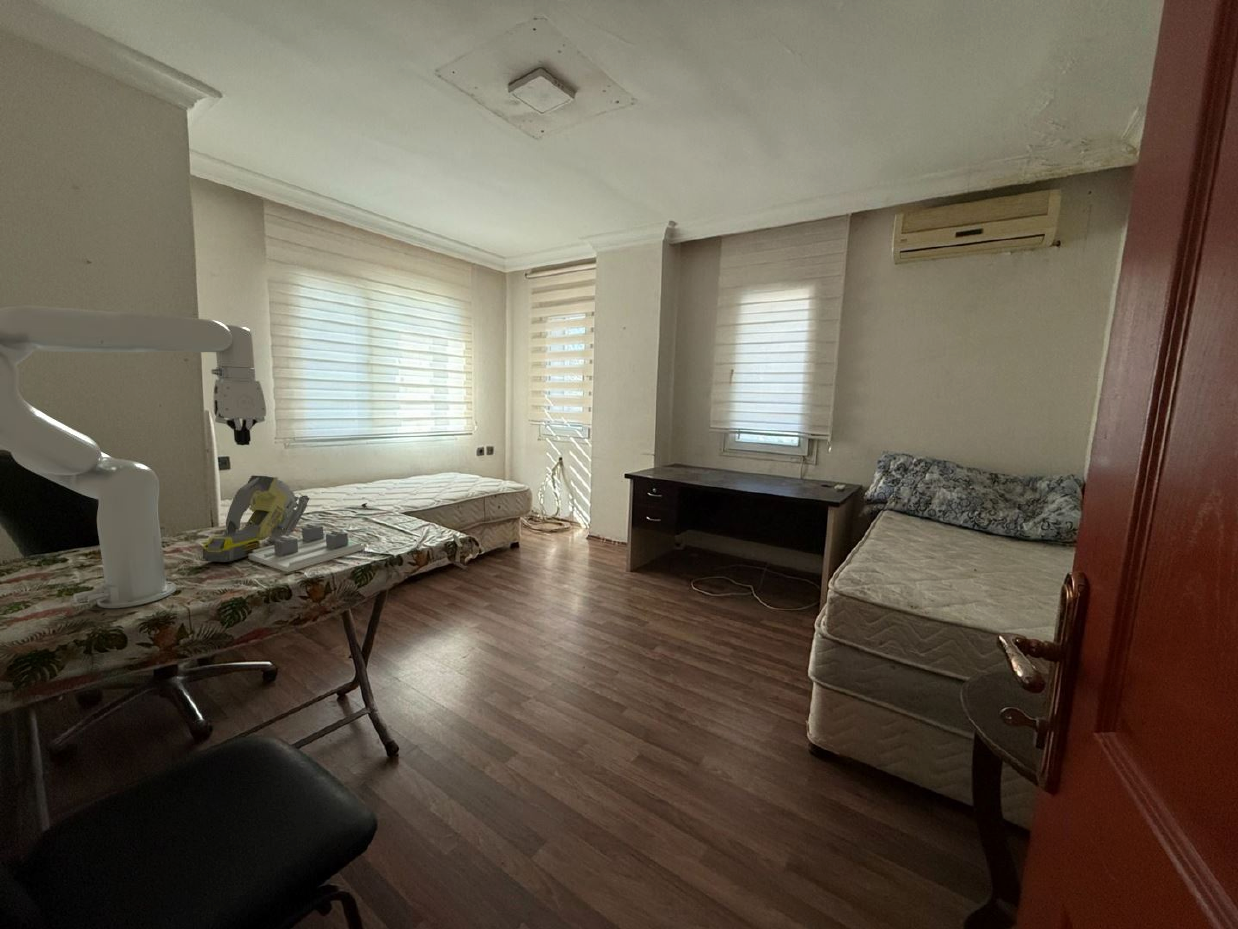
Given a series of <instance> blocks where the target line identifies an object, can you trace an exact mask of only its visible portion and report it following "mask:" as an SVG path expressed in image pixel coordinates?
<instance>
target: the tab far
mask: <svg viewBox="0 0 1238 929" xmlns="http://www.w3.org/2000/svg"><path fill="white" fill-rule="evenodd" d="M323 533H324V526H323V525H319V524H315V523H307V526H302V527H301V535H302V537H301V538H303V542H306V543H309V542H313V541H317V540H321V539H324V536H323Z"/></svg>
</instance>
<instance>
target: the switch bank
mask: <svg viewBox="0 0 1238 929" xmlns="http://www.w3.org/2000/svg"><path fill="white" fill-rule="evenodd" d="M323 536H324V539H321V540H317V541H313V542H309V543H306V542H303V538H302V537H301V538H296V539H297V542H298V552H297V553H293V554H290V555H286V556H282V557H278V556H275V550H274V544H273V545H267V546H263V547H260V548H259V549H255V550H252V552H253V553H250V554H248V556H247V557H248V560H250V561H253V562H257V563H258V564H262V565H265V566H267V567H271V568H274V569H276V570H280V571H282V572H285V573H290V572H293V571H296V570H300V569H304V568H307V567H311V566H313V565H316V564H321V563H323V562H327V561H331V560H333V559H336V558H341V557H344V556H346V555H351V554H353V553H357V552H360V551H361V552H362V551H364V550H365V549H366V548H365V544H364V543H362V542H357V541H352V540H349V538H348V546H345V547H341V548H338V549H334V550H330V549H327V546H326V533H325V532H323Z"/></svg>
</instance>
